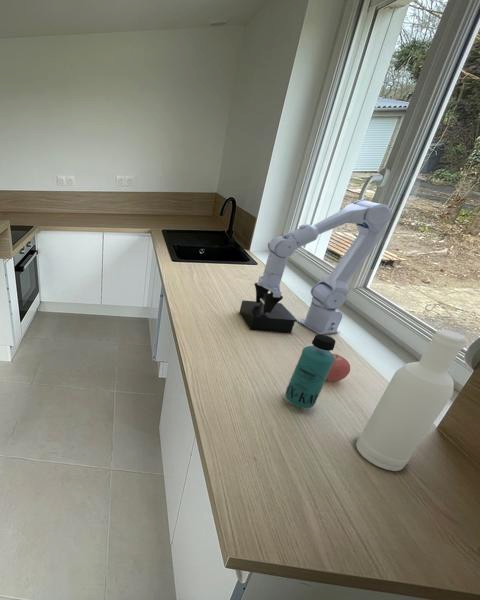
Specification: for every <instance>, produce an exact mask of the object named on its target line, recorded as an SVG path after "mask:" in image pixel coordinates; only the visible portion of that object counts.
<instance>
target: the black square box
mask: <svg viewBox="0 0 480 600" xmlns="http://www.w3.org/2000/svg"><path fill="white" fill-rule="evenodd" d="M238 314H239V315H240V316H241V318H242V320H243V321H244V323H245V324H246V325H247V328H248V329H249V331H253V332H267V333H268V332H269V333H278V334H292V331H293V329H294V325H295V323H296V322H291V321H279V320H266V319H254V318H253V317H252V315H251V314H250V312H249V311H248V310H247V308H246V307H245V305H244V304H243V303H242V302H241V304H240V308H239V313H238Z"/></svg>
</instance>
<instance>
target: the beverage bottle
mask: <svg viewBox="0 0 480 600" xmlns="http://www.w3.org/2000/svg"><path fill="white" fill-rule="evenodd" d="M311 344H312V345H308V346H305V347H304V348H303V349H302V352H301V354H300V357H299V359H298V361H297V364H296V365H295V368H294V370H293V372H292V374H291V377H290V380H289V382H288V384H287V387H286V390H285V393H284V394H285V399H286V400H287V401H288V402H289V403H290V404H292V405H293V406H296V407H297V408H300V409H306V410H307V409H308V410H309V409H312V408H313V407H315V405H316V403H317V401H318V398H319V397H320V395H321V392H322V390H323V388H324V386H325V382H326V381H327V379H326V378H327V375H328V373H329V371H330V369H331V367H332V364H333V362H334V361H335V358H334V356H333V354H334V353H332V352H331V351H333V350H334V349H335V345H336V340H335V338H333V337H332V336H330V335H327V334H318V333H316V334H315V336H314V337H313V339H312V341H311Z"/></svg>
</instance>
